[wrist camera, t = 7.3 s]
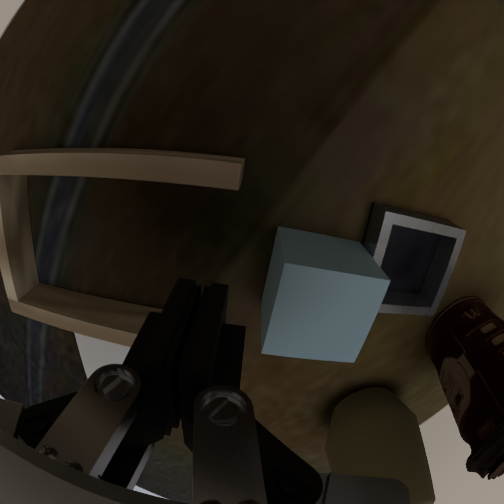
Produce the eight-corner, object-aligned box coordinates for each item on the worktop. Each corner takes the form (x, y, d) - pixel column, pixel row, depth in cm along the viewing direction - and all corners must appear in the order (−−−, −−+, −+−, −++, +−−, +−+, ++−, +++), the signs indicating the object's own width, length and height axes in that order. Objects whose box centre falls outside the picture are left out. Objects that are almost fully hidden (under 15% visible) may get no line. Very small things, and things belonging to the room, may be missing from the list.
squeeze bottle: (338, 374, 21) (383, 596, 5) (418, 375, 22) (488, 547, 5) (308, 430, 24) (323, 601, 8) (380, 428, 25) (417, 575, 8)
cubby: (16, 150, 15) (-12, 156, 12) (245, 158, 15) (241, 163, 13) (32, 292, 19) (11, 311, 16) (223, 333, 20) (218, 363, 17)
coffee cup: (430, 381, 22) (482, 492, 10) (394, 339, 20) (463, 487, 8) (499, 320, 19) (574, 414, 7) (478, 263, 17) (590, 371, 5)
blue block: (277, 225, 17) (284, 262, 12) (359, 241, 17) (390, 280, 12) (261, 300, 19) (261, 353, 14) (335, 311, 19) (353, 362, 14)
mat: (73, 316, 20) (71, 318, 20) (166, 338, 20) (165, 341, 20) (91, 384, 23) (90, 386, 23) (171, 404, 23) (170, 407, 23)
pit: (372, 202, 16) (385, 211, 14) (449, 220, 16) (466, 230, 14) (347, 293, 18) (356, 310, 16) (422, 300, 18) (434, 316, 17)
